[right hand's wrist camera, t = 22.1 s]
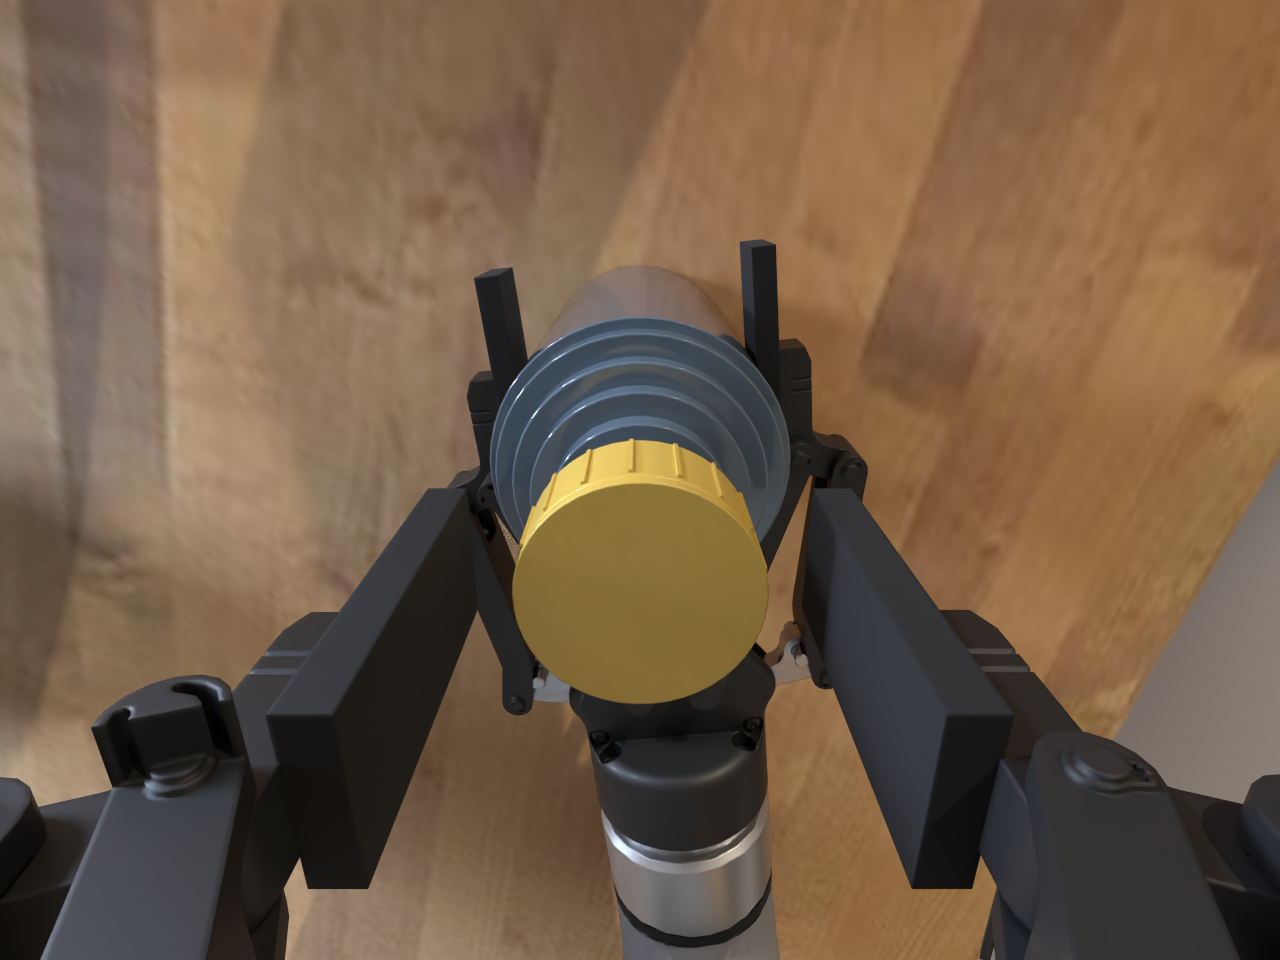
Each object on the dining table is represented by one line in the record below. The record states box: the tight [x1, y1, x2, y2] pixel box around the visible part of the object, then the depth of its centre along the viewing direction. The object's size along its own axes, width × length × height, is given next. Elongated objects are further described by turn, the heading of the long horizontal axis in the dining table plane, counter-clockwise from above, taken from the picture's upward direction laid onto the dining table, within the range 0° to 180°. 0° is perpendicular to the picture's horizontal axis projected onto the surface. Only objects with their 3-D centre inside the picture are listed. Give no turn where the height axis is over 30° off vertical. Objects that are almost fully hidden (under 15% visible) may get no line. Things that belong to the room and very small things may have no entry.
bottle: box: [490, 266, 791, 544], centre depth 22 cm, size 8×8×19 cm
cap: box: [512, 439, 769, 704], centre depth 14 cm, size 5×5×2 cm
